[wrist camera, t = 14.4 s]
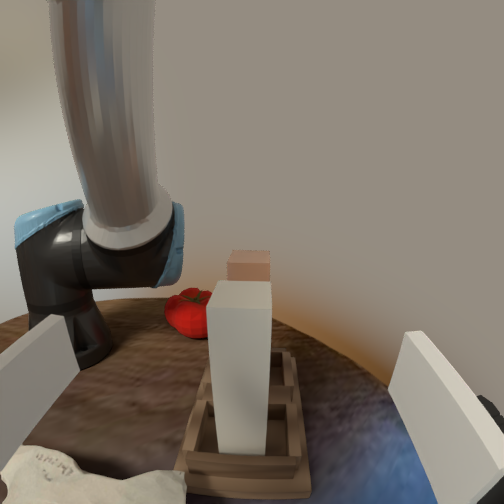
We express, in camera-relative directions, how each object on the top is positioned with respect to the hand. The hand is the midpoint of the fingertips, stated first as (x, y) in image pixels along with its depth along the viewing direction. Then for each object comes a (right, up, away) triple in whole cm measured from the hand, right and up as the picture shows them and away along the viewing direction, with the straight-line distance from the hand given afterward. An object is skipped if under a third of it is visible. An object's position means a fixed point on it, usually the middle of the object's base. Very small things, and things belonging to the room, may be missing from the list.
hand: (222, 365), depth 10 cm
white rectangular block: (0, -14, +14) cm, 20 cm away
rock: (-14, -19, +2) cm, 24 cm away
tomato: (-9, -10, +40) cm, 42 cm away
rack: (0, -15, +19) cm, 24 cm away
